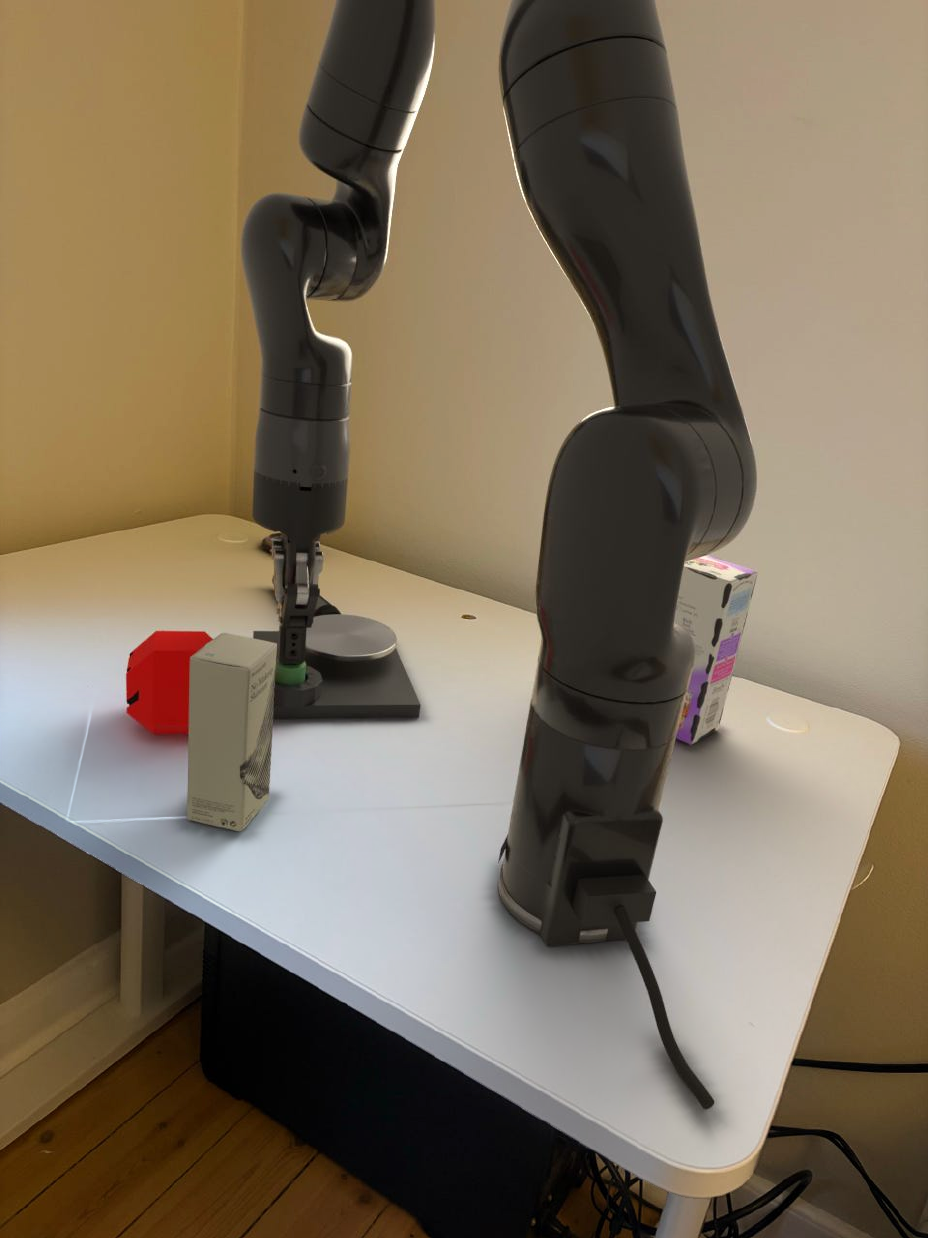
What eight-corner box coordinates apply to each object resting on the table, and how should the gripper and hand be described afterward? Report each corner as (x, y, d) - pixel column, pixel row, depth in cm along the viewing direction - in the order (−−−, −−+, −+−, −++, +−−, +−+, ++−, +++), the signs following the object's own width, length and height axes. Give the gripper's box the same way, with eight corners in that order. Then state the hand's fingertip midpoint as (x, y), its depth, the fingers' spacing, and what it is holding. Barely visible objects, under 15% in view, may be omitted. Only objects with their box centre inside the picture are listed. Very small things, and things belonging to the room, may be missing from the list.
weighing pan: (405, 662, 87) (405, 656, 87) (298, 661, 84) (298, 655, 84) (386, 620, 96) (387, 614, 96) (289, 618, 93) (289, 613, 93)
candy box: (720, 730, 89) (762, 570, 82) (690, 748, 84) (731, 581, 78) (604, 676, 97) (634, 526, 91) (570, 690, 93) (599, 534, 86)
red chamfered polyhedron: (132, 701, 80) (131, 620, 77) (227, 700, 82) (229, 621, 79) (124, 748, 73) (123, 661, 70) (229, 746, 75) (231, 662, 72)
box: (242, 835, 64) (249, 670, 60) (183, 822, 65) (186, 657, 60) (271, 796, 69) (280, 640, 64) (217, 783, 70) (221, 628, 65)
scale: (419, 719, 83) (423, 690, 82) (258, 721, 79) (260, 691, 78) (388, 644, 97) (390, 618, 96) (250, 643, 93) (251, 616, 92)
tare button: (306, 687, 81) (307, 669, 80) (276, 687, 80) (276, 669, 79) (303, 673, 83) (304, 656, 82) (274, 673, 82) (275, 656, 81)
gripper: (250, 446, 79) (244, 630, 85) (258, 486, 67) (250, 696, 74) (337, 451, 81) (325, 631, 88) (360, 491, 69) (343, 695, 76)
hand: (291, 661), depth 81 cm, fingers closed
